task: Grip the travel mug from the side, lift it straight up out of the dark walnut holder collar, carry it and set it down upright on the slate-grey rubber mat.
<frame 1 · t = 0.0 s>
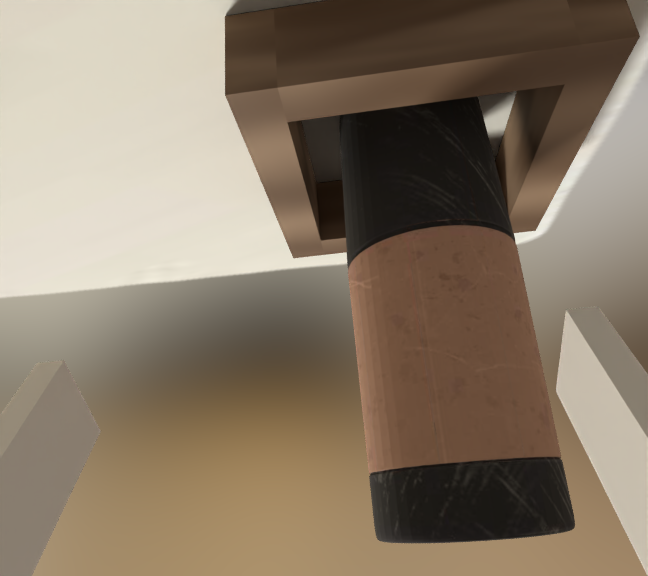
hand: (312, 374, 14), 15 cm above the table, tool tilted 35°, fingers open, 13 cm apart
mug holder: (406, 113, 28), on the table
travel mug: (406, 110, 28), resting in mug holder
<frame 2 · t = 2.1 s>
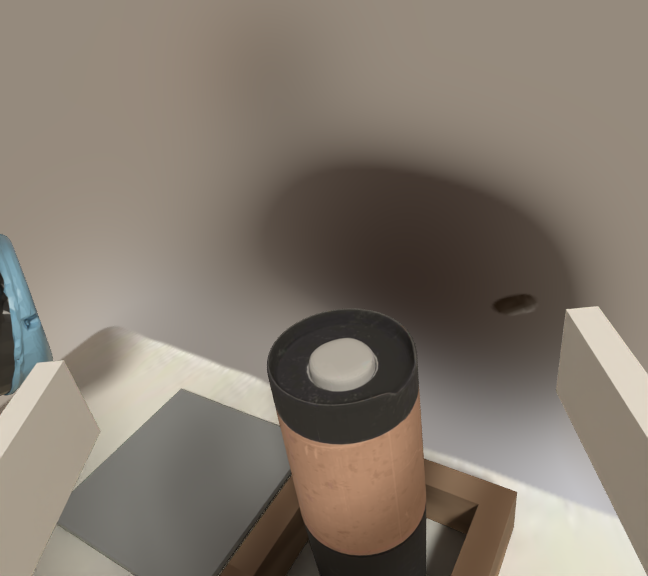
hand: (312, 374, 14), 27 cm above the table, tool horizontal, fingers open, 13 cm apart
rubber mat: (185, 480, 46), on the table
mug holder: (374, 573, 37), on the table
travel mug: (374, 574, 37), resting in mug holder
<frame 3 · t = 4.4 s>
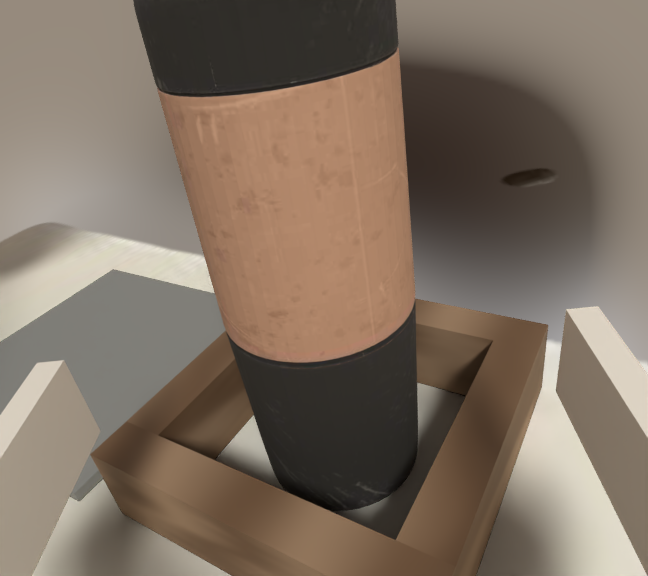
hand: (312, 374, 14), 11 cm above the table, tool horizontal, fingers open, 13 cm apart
rubber mat: (102, 358, 35), on the table
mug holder: (343, 446, 26), on the table
travel mug: (344, 449, 26), resting in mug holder
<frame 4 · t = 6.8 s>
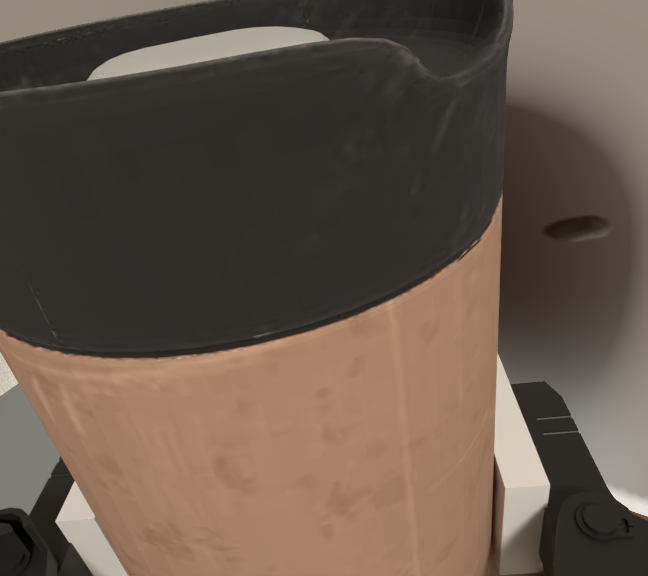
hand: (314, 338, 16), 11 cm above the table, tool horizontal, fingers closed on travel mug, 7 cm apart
rubber mat: (35, 494, 26), on the table
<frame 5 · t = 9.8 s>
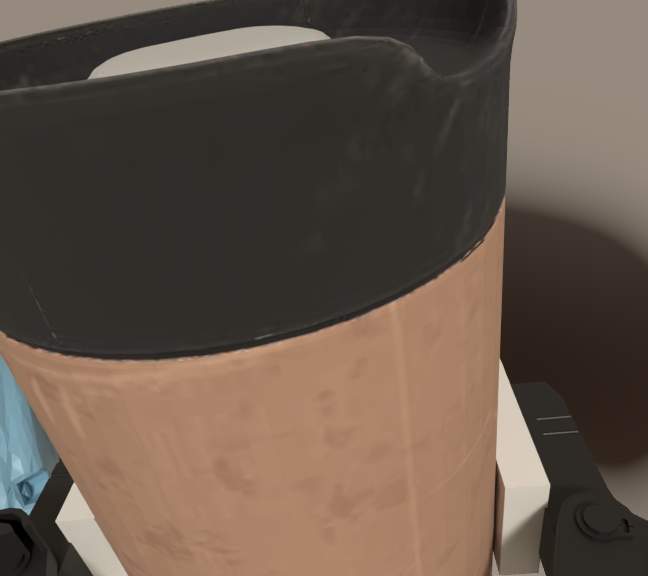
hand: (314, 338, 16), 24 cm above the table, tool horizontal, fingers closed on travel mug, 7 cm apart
when the fingers open (12 cm above the table, at t = 12.9 s): travel mug stays where it is, resting on rubber mat.
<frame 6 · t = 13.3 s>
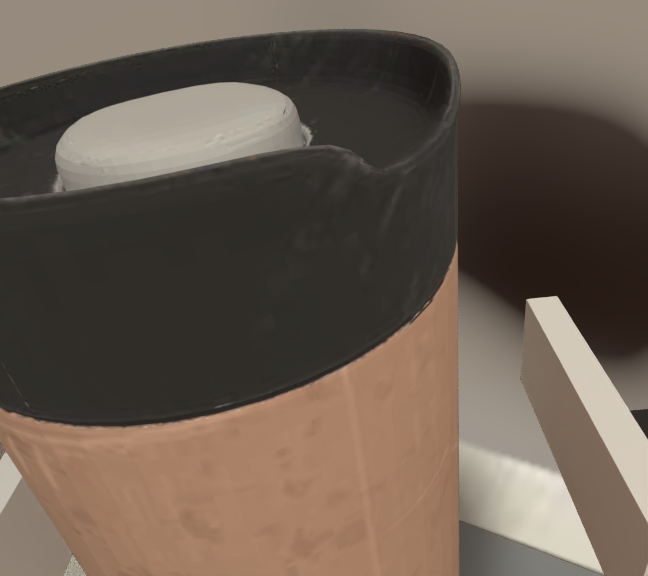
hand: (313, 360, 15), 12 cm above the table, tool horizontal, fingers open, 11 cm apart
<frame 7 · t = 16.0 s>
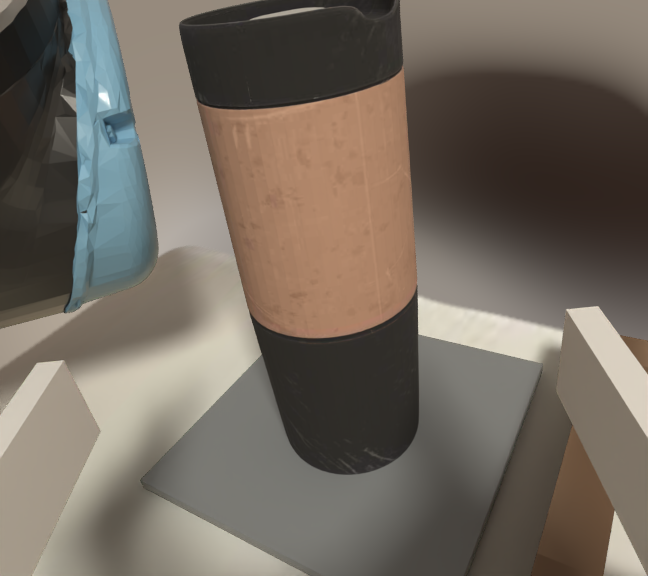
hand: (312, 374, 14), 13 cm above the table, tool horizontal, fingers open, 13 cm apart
rubber mat: (353, 426, 29), on the table
travel mug: (352, 423, 29), resting on rubber mat
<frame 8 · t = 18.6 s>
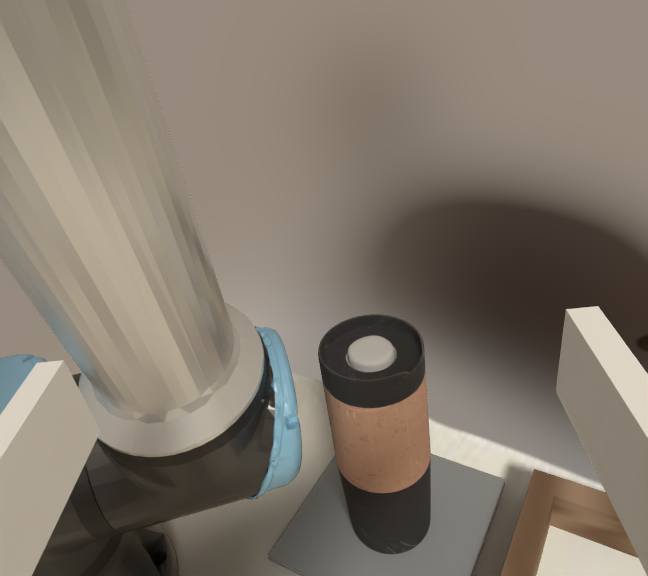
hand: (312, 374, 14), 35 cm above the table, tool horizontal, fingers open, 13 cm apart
rubber mat: (390, 520, 49), on the table
travel mug: (390, 518, 49), resting on rubber mat
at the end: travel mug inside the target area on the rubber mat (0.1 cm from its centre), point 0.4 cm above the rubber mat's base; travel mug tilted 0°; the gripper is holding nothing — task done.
